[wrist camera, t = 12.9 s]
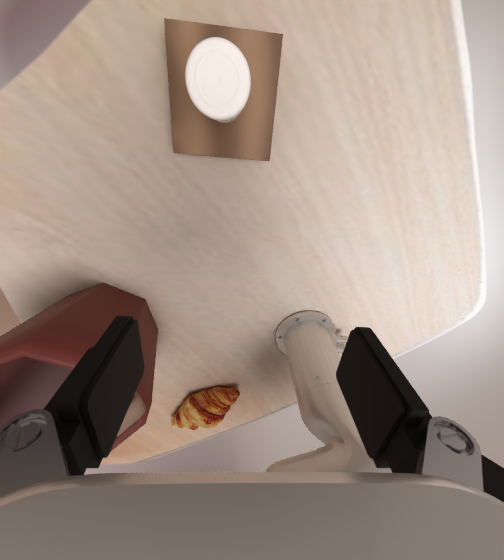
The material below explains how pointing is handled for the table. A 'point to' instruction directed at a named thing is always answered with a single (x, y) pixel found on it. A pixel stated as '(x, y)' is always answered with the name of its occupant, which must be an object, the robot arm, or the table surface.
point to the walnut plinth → (256, 113)
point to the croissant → (205, 408)
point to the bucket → (72, 351)
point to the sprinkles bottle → (218, 79)
